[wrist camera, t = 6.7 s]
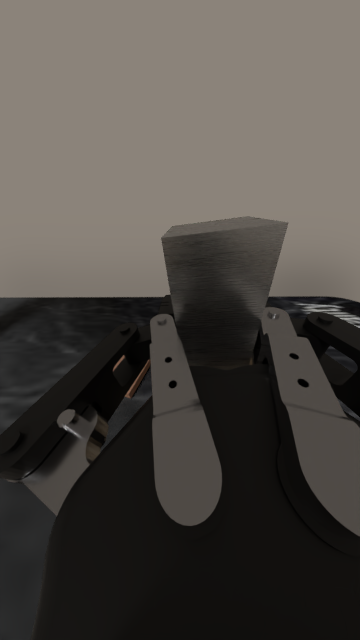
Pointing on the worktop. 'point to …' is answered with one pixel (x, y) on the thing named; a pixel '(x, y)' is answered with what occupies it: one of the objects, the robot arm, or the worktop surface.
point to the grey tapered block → (221, 285)
